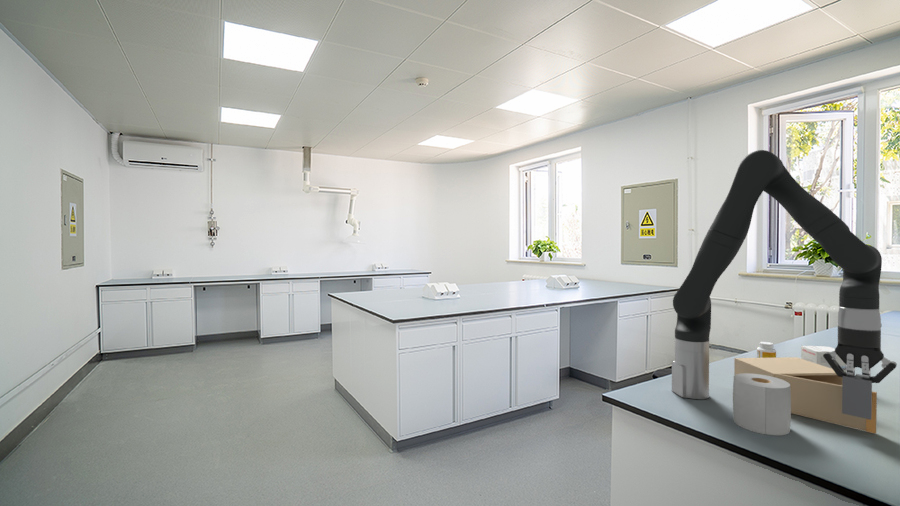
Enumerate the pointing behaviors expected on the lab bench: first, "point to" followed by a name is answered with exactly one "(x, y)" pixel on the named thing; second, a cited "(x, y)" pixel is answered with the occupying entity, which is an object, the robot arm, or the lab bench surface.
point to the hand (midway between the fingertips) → (858, 396)
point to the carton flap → (835, 401)
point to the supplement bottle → (766, 350)
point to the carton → (786, 368)
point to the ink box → (819, 355)
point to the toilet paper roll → (762, 404)
